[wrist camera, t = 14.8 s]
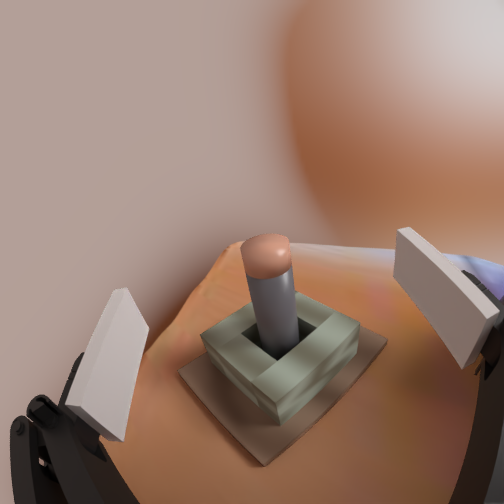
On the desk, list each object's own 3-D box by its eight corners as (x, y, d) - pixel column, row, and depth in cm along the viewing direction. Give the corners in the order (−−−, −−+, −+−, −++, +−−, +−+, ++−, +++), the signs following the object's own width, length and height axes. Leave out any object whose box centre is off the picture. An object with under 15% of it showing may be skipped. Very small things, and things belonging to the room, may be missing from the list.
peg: (283, 342, 32) (266, 230, 25) (308, 358, 29) (299, 241, 22) (258, 362, 30) (230, 248, 23) (282, 380, 27) (262, 263, 20)
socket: (293, 297, 41) (290, 263, 38) (386, 344, 29) (394, 308, 27) (180, 375, 31) (161, 343, 28) (264, 466, 19) (253, 447, 17)
